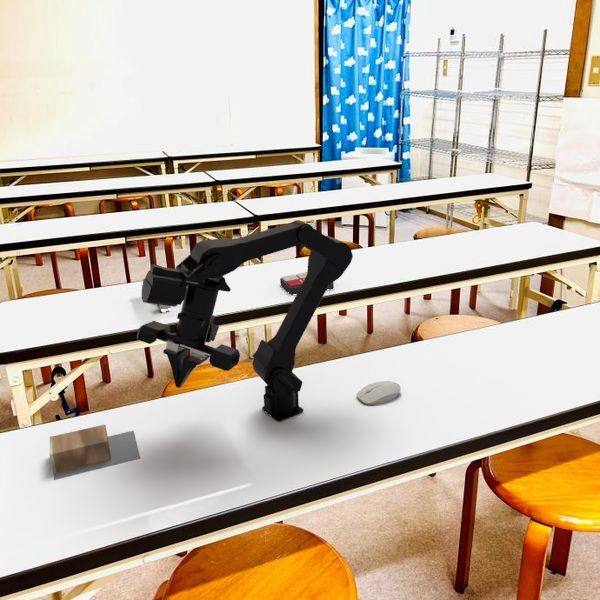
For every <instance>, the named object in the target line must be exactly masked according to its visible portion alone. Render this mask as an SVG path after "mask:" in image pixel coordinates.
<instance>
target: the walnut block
mask: <svg viewBox="0 0 600 600" xmlns="http://www.w3.org/2000/svg"><path fill="white" fill-rule="evenodd" d="M108 436H109V435H108V430H107V426H106V424H101V425H96V426H91V427H87V428H83V429H79V430H75V431H70V432H65V433H61V434H57V435H53V436H49V450H48V451H49V460H50V464H51V468H52V472H53V474H54V473H57V472H61V471H65V470H69V469H73V468H77V467H81V466H86V465H90V464H94V463H98V462H102V461H106V460H110V459H111V454H110V448H109V441H108Z"/></svg>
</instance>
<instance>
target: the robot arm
mask: <svg viewBox="0 0 600 600" xmlns="http://www.w3.org/2000/svg"><path fill="white" fill-rule="evenodd" d="M301 245H302V246H303V247H304V248H305V249H307V250H309V251H310V253H309V255H308V258H307V271H306V272H307V276H306V278H305V280H304V282H303V284H302V286H301V287H300V289H299V291H298V293H297V295H295V297H294V299H293V301H292V303H291V304H290V307H289V309H288V311H287V313H286V314H285V317H284V318H283V321H281V322H282V323H281V324H280V326H279V328H278V330H277V332H276V334H275V335H274V337H272V338H270V339H269V340H268V341H266V340H264V339H261V340H260V342H259V344H258V347H257V349H256V351H255V352H254V353H253V354H252V356H251V357H252V358H253V361H252V364H251V365H252V367H253V370H254V372H255V374H257V375H258V376H259V378H260V379H261V380H263V382H264V383H265V384H266V385H265V386H264V394H263V406H262V407H261V408H262V411H263V412H264V413H266V414H268V416H270V417H271V418H272V419H274V420H275V421H276V422H280V423H281V422H282V421H285V420H287V419H289V418H292V417H294V416H296V415H300V414H302V413H304V408H302V407H301V406H300V404H299V403H300V402H299V392H300V391H301V389H302V386H303V381H302V379H300V378H299V377H298V376H297V375H296V374H295V373H294V372H293V370H294V369H295V368H294V367H295V363H296V352H297V351H296V350H297V346H298V345H299V343H300V340H301V339H302V337H303V335H304V333H305V331H306V330H307V327H308V326H309V324H310V322H311V320H312V317H314V314H315V313H316V310H317V308H318V306H319V305H320V303H321V301H322V300H323V297H324V295H325V294H326V291H328V290H327V288H328V286H329V285H330V284H331V283H333V284H334V283H335V281H337V280H338V279H340V278H341V277H342V276H343V274H345V272H346V270H347V269H348V267H349V266H350V264H351V263H352V261H353V256H354V254H353V252H352V248H351V247H350V245H349V244H348V243H346V242H344V241H342V240H339V239H337V238H335V237H332V236H329V235H325V234H324V233H321V232H320V231H318V230H316V229H315V227H313V226H312V225H311V224H310V223H307V222H305V221H302V220H299V219H298V220H293V221H291V222H289V223H287V224H283V225H281V226H280V225H279V226H275V227H273V228H272V227H271V228H270V229H266V230H262V231H259V232H255V233H252V234H249V235H244V236H241V237H238V238H212V239H206V240H205V239H204V240H200V241H198V242H197V243H195V244H194V246H193V248H192V249H191V253H190V254H189V255H188V256H187V257H185V258H184V259H183V260H181V261H180V262H179V264H177V265H176V267H175V268H172V267H171V268H170V267H165V266H161V265H160V264H159V265H158V264H152V263H151V265H150V268H149V270H148V272H147V273H146V275H145V278H143V280H142V286H141V300H142V303H144V304H152V305H158V306H159V305H165V306H170V307H173V308H174V307H177V306H178V305H179V306H180V305H182V307H181V311H180V312H177V313H178V314H177V317H176V318H177V319H178V323H177V327H176V331H175V333H173V332H171V330H172V329H171V327H170V325H167V324H165V323H162V322H159V321H157V320H153V321H152V320H151V321H150V322H147V323H145V324H141V326H139V328H138V329H137V334H136V340H137V341H141V342H143V343H146V344H149V345H150V344H153V343H155V342H157V340H158V341H159V340H160V341H162V342H166V347H165V349H163V352H162V353H163V354H164V355H166V356H167V358H168V361H169V364H170V368H171V371H172V372H171V373H172V375H173V381H174V384H175V385H174V386H175V388H178V389H181V388H182V387H183V385H184V383H185V382H187V379H188V378H189V376H190V375H191V373H192V372H193V370H194V369H195V368H196V366H199V365H201V364H203V363H205V362H206V361H207V360H208V362H209V364H210V365H211V367H214V368H216V369H220V370H223V371H225V372H227V371H228V372H229V371H231V370H232V369H233V368H234V367H236V366H238V364H239V361H240V357H241V354H240V351H239V349H236V348H234V347H232V346H228V345H225V344H222V343H221V344H220V345H218V346H216V347H213V346H210V345H207V344H209V343H210V342H214V341H215V340H216V337H217V334H218V331H219V328H220V326H219V325H217V324H215V323H214V320H215V316H214V310H215V306H216V304H217V299H218V296H219V291H222V292H227V293H229V292H231V290H232V288H231V287H230V286H229V285H228V283H227V281H226V278H225V277H224V276H226V275H228V274H230V273H233V272H234V271H236V270H237V269H238V268H239V267H241V265H242V264H245V263H246V262H248V261H251V260H254V259H258V258H262V257H265V256H268V255H271V254H272V255H273V254H275V253H278V252H281V251H285V250H287V249H290V248H295V247H297V246H298V247H299V246H301ZM206 343H207V344H206ZM188 353H189V355H188Z"/></svg>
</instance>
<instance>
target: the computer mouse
mask: <svg viewBox="0 0 600 600" xmlns="http://www.w3.org/2000/svg"><path fill="white" fill-rule="evenodd" d="M401 389H402V388H401V385H400V384H398V383H397V382H395V381H391V380H382V381H376V382H372V383H369V384H367V385H366V386H364V387H362V388H361V389H360V390H358V392H356V398H357V399H358V400H359V401H360V402H361V403H364V405H373V406H374V405H380V404H383V403H387V402H390V401H392V400H394V399H395V398H396V397H397V396H398V395H399V393H400V392H401Z"/></svg>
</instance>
